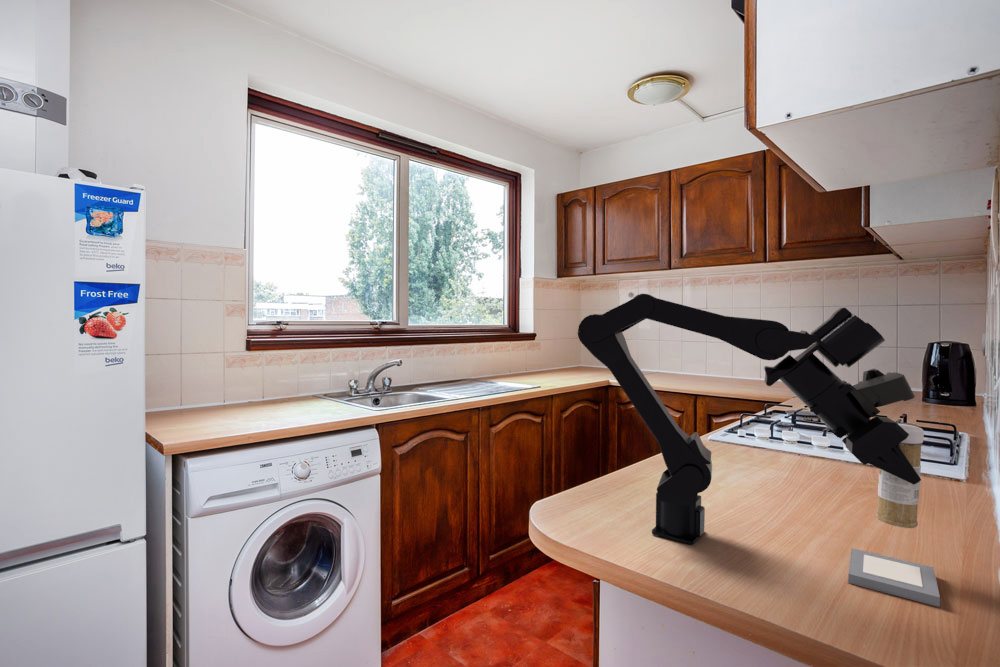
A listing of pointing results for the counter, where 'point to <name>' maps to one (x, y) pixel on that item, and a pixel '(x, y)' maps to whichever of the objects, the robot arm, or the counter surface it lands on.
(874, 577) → the tile
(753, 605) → the counter surface
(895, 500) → the sprinkles bottle
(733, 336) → the robot arm
